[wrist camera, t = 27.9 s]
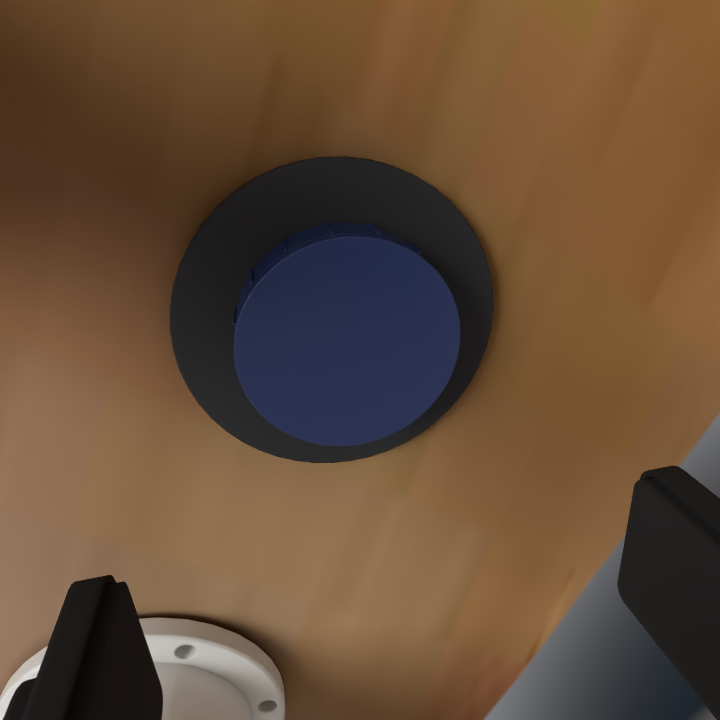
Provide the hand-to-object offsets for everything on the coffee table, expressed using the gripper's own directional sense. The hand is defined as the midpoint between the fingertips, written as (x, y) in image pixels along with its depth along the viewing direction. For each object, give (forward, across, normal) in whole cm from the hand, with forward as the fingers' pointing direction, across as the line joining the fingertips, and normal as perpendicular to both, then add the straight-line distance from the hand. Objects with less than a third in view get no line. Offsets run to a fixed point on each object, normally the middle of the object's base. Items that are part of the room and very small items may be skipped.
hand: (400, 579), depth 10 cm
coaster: (+10, -1, -1) cm, 11 cm away
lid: (+8, -1, -1) cm, 9 cm away
